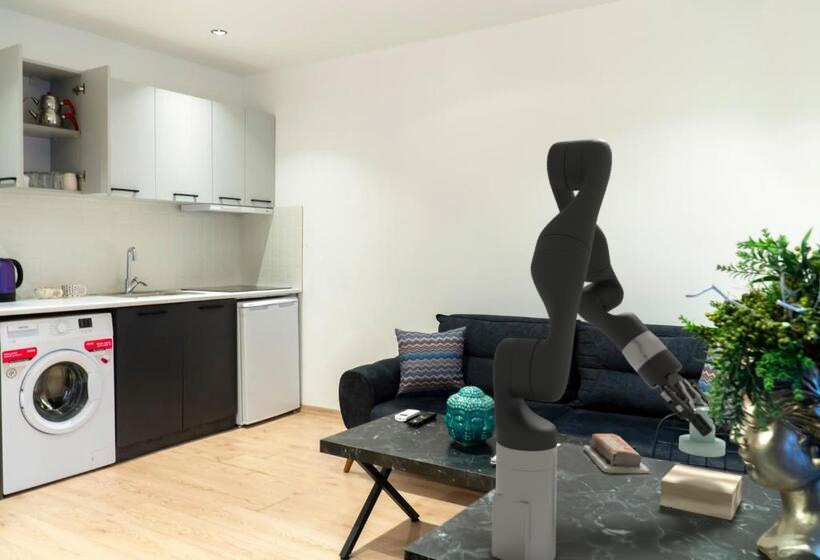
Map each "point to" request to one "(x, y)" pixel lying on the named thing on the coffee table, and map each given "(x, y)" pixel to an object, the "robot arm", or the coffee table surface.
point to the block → (702, 491)
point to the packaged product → (614, 455)
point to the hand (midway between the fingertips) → (713, 430)
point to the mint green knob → (702, 439)
